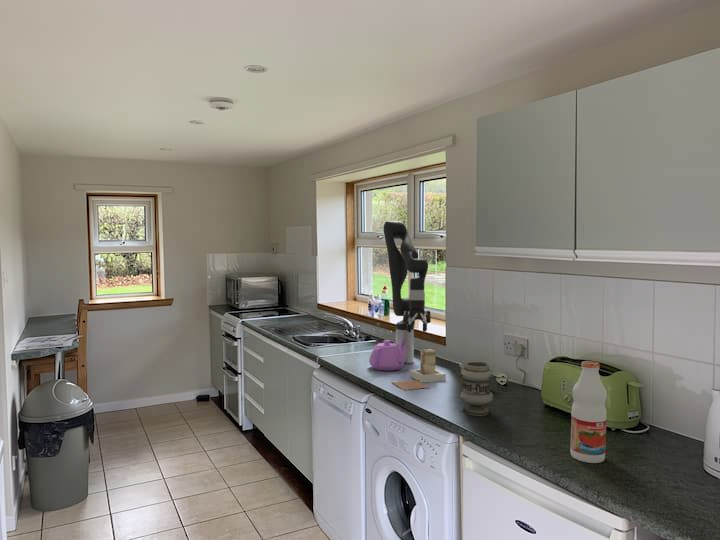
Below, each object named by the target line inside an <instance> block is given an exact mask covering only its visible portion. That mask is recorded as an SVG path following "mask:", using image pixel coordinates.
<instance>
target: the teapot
mask: <svg viewBox="0 0 720 540" xmlns="http://www.w3.org/2000/svg"><path fill="white" fill-rule="evenodd" d="M408 346H409V345H405V346H404V347H403V349H402V352H401V350H400V347H399V345H398V344H397V343H396V342H394V343H392V342H391V340H389V339H383V342H380V343H379V342H378V343H377V344H375V346H374V348H373V349H372V351H371V353H370V356H369V358H368V359H369V361H368V362H369V365H370V366H371V367H372V369H375V370H379V371H386V372H391V371H397V370H399V369H401V368H402V367H403V366H404V364H405V363H404V362H405V360H406V357H407V354H406V350H407V347H408Z"/></svg>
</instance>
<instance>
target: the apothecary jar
mask: <svg viewBox="0 0 720 540" xmlns="http://www.w3.org/2000/svg"><path fill="white" fill-rule="evenodd" d="M460 376H461V379H462V378H463V379H464V385H463V390H462V391H461V392H460V395H459V397H460V400H461V401H462V402H463V403H465V404H466V405H467V406H465V407H463V409H462V412H463V413H465V414H467V415H470V416H476V417H485V416H488V415H490V413H491V410H489V408H487V407H485V406H488V405H489V404H491V403H492V402H493V401H494V394H493V393H492V392H491V380H492V379H493V378H494V372H493V371H492V370H491V369H490V365H489V363H488V362H485V361H478V360H477V361H476V360H475V361H467V362H466V364H465V368H464V369H462V371H460ZM468 405H469V406H468Z"/></svg>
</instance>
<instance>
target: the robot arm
mask: <svg viewBox="0 0 720 540" xmlns="http://www.w3.org/2000/svg"><path fill="white" fill-rule="evenodd" d="M383 234H384V235H383V236H384V240H385V245H386V249H387V250H386V252H387V256H388V269H389V274H390V282H391V291H392V295H391V296H392V298H391V299H392V309H393V313H394V315H395V316H396V317H402V320H400V321H398V322H396V324H395V343H397V344H398V345H399V347H400V350H401V352H402V349H403V347H404V346H405V345H409V346H408V347H407V350H406V354H407V357H406V360H405V362H404V364H412V363H414V354H415V352H414V343H415V336H414V335H415V324H416V323H415V322H416V321H417V320H419V321H421V322H422V332H424V333H426V332H427V330H428V324H429V323H431V319H432V317H431V310H425V307H426V304H425V302H426V301H425V300H426V299H425V298H426V296H425V295H426V294H425V280H426V277H427V273H428V269H429V263H428V261H427V259H425V258H419V253H418V252H417V250H416V248H415V246H414V245H413V243H412V239H411V237H410V234H409V232H408V228H407V226H406V224H405V223H404V222H403V221H399V220H396V221H395V220H387V221H385V222H384V224H383ZM395 239H400V240H401V241H402V242H401V243H400V250H399V248H398V246H397V244H396V243H395ZM408 272H409V273H412V274H413V273H414V274H417V276H416V277H411V279H410V281H409V297H402V287H403V284H404V283H405V281H406V279H407V276H408Z"/></svg>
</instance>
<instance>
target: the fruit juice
mask: <svg viewBox="0 0 720 540" xmlns="http://www.w3.org/2000/svg"><path fill="white" fill-rule="evenodd" d="M580 366H581V373H580V375H579V377H578V381H576V382H575V384H574V386H573V388H572V396H573V403H572V406H571V412H570V416H571V419H570V420H571V422H570V423H571V424H570V455H571V457H572V458H573V459H575V460H577V461H580V462H584V463H589V464H599V463H602V462H604V461H605V459H606V442H607V440H606V439H607V418H608V417H607V409H606V406H605V404H606V401H607V397H608V395H607V393H608V392H607V389H606V387H605V386H604V384H603V382H602V379H601V376H600V373H599V370H600V366H601V365H600V363H599V362H598V361H593V360H592V361H591V360H584V361H581V364H580Z"/></svg>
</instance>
